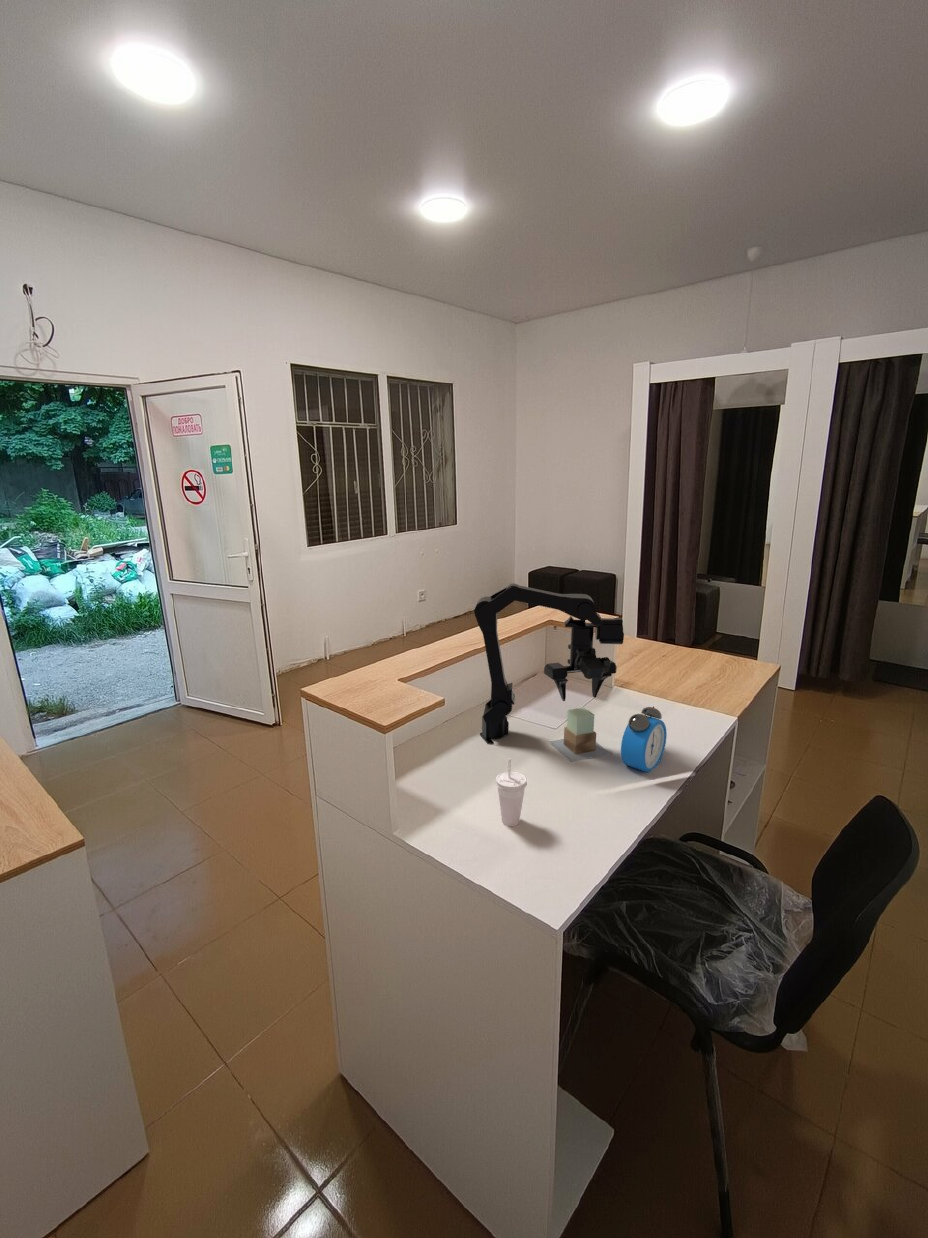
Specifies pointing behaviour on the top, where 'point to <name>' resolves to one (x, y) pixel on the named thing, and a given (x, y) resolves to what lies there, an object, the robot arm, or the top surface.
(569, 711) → the sage cube
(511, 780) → the smoothie
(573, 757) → the mat
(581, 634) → the robot arm
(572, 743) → the walnut block
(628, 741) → the alarm clock
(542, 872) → the top surface
